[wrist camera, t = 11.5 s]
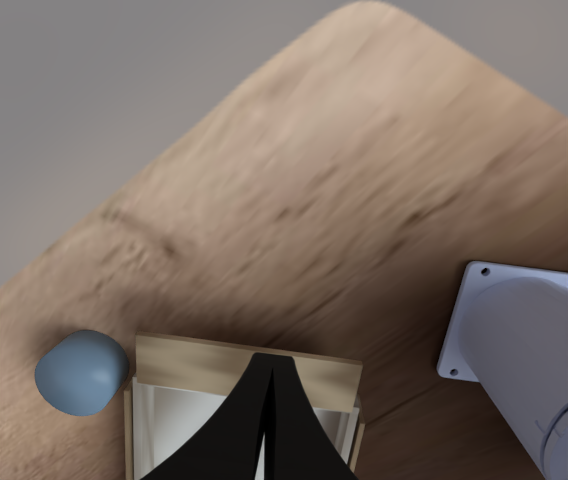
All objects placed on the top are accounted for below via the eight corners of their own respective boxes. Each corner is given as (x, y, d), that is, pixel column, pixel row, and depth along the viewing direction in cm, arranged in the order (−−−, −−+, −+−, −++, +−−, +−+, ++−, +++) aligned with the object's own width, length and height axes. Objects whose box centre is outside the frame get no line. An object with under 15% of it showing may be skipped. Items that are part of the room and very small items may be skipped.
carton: (361, 380, 24) (368, 411, 22) (331, 516, 28) (333, 556, 26) (142, 350, 25) (123, 377, 22) (143, 489, 29) (127, 526, 26)
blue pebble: (111, 322, 24) (90, 342, 22) (140, 383, 25) (122, 408, 23) (47, 337, 25) (21, 358, 23) (78, 396, 26) (56, 421, 24)
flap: (351, 407, 21) (361, 361, 20) (351, 412, 21) (363, 365, 20) (139, 378, 22) (138, 330, 20) (136, 382, 21) (135, 334, 20)
